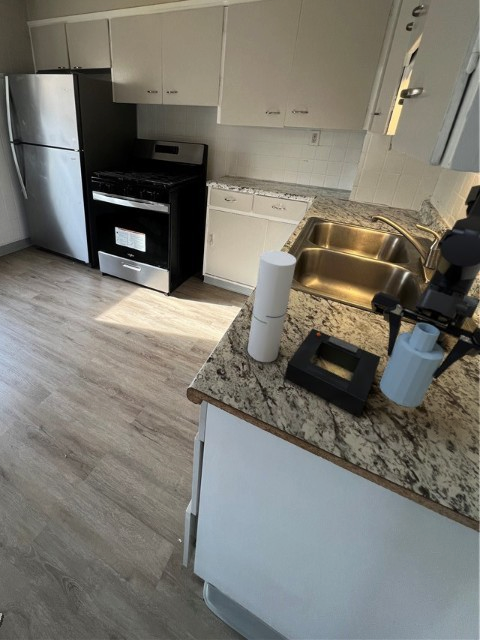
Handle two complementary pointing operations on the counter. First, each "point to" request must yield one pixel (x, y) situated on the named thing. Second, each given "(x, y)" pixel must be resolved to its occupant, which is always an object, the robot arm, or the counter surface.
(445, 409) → the counter surface
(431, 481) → the counter surface
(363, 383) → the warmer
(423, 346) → the vase
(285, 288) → the cylindrical container
